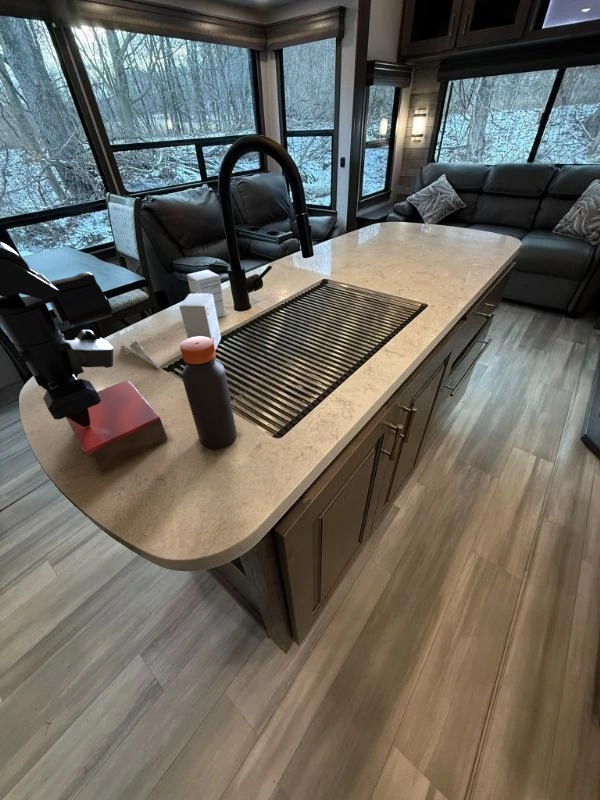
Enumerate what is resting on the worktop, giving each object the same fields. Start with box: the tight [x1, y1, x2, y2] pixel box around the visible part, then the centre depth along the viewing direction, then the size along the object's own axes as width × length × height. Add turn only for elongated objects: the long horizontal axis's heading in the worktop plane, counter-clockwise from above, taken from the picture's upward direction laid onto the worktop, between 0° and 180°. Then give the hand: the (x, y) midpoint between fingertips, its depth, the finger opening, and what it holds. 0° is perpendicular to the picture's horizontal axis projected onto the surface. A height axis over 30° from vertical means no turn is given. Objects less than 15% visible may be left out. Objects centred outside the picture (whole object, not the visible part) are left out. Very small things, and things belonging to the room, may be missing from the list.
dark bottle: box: [179, 336, 237, 451], centre depth 56 cm, size 7×7×20 cm
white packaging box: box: [186, 269, 227, 319], centre depth 101 cm, size 7×7×13 cm
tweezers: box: [119, 339, 161, 370], centre depth 85 cm, size 17×5×2 cm, turn 46°
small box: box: [179, 293, 222, 351], centre depth 86 cm, size 8×6×13 cm
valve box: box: [91, 419, 169, 473], centre depth 62 cm, size 12×16×5 cm
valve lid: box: [65, 379, 162, 456], centre depth 59 cm, size 12×16×5 cm
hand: (82, 418), depth 57 cm, fingers closed on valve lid, 5 cm apart
